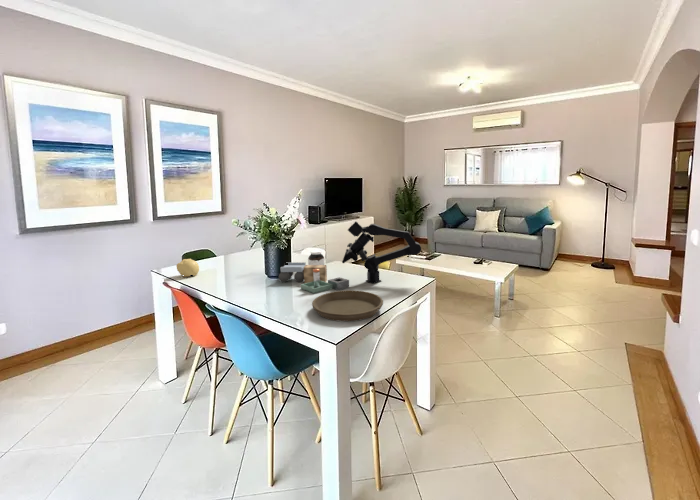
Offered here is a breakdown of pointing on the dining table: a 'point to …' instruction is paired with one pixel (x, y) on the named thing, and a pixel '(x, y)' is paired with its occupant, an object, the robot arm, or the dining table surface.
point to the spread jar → (316, 258)
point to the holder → (339, 283)
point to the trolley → (292, 271)
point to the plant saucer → (347, 305)
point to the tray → (310, 288)
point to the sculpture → (188, 267)
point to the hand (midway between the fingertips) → (342, 262)
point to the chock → (309, 273)
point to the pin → (316, 277)
